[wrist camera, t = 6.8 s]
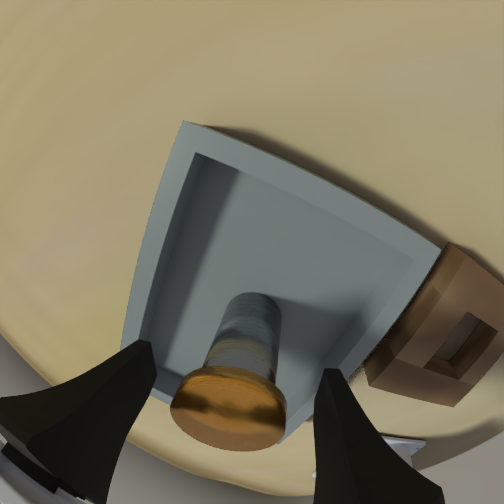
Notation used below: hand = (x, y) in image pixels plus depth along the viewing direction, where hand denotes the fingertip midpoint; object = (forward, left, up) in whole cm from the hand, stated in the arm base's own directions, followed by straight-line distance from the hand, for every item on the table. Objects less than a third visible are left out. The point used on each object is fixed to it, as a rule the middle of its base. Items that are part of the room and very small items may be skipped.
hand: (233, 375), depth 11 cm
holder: (+4, -12, -5) cm, 14 cm away
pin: (0, 0, -4) cm, 4 cm away
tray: (0, 0, -5) cm, 5 cm away
